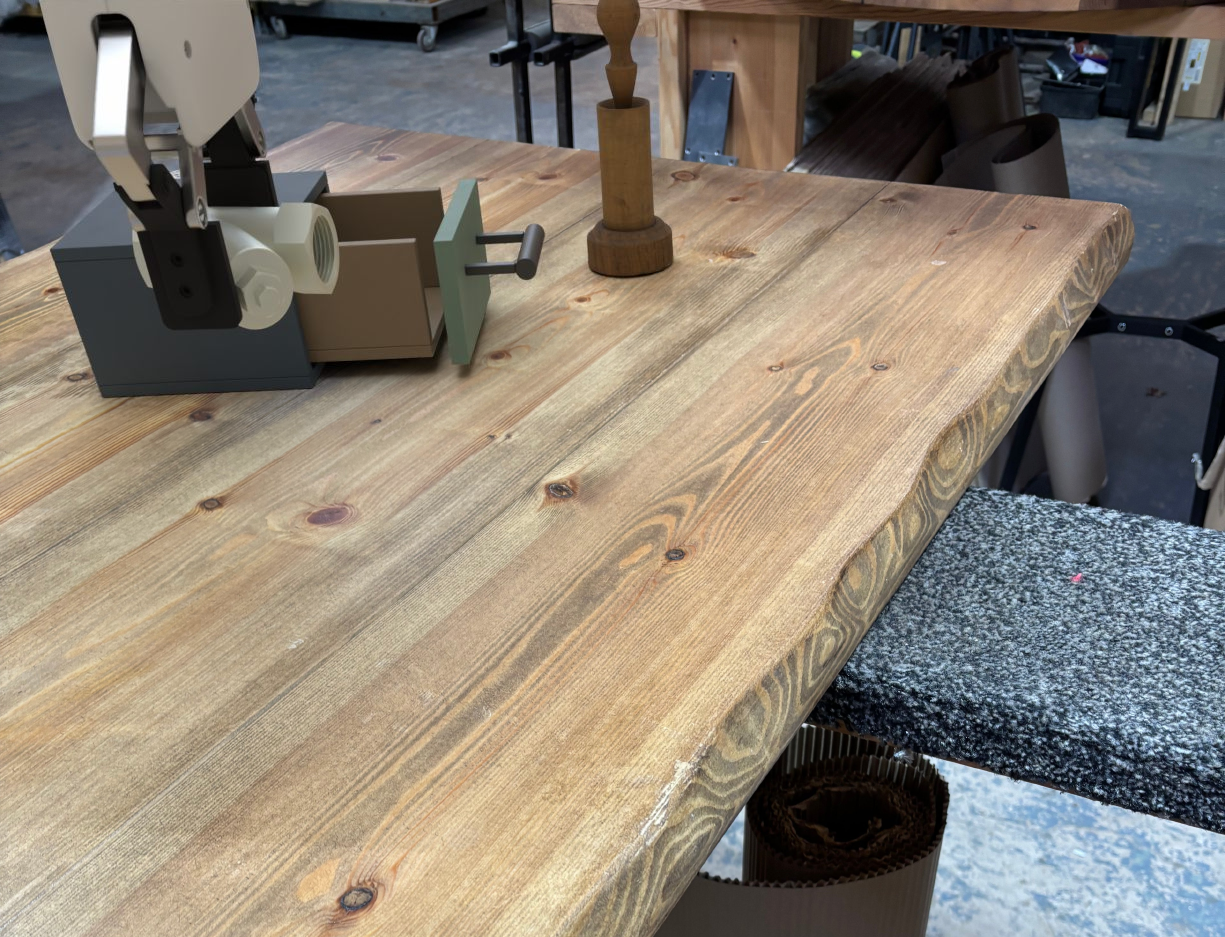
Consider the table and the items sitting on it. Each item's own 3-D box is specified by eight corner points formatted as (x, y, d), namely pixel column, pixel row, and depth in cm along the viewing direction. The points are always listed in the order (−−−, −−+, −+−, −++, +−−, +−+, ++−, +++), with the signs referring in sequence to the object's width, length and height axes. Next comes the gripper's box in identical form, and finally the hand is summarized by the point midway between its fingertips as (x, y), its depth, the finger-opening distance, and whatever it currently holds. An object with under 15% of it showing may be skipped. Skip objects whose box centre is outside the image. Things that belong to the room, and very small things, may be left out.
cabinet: (353, 309, 92) (325, 169, 86) (313, 388, 82) (277, 237, 76) (165, 318, 93) (123, 181, 87) (101, 397, 83) (48, 249, 77)
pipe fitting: (298, 348, 51) (346, 277, 56) (274, 254, 48) (326, 187, 53) (120, 344, 52) (181, 274, 57) (86, 252, 50) (153, 186, 54)
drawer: (554, 289, 90) (544, 174, 85) (540, 361, 81) (527, 236, 76) (312, 301, 92) (286, 188, 86) (269, 373, 82) (238, 251, 77)
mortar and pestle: (654, 243, 99) (644, -24, 87) (686, 267, 94) (681, -11, 82) (577, 258, 98) (556, -12, 85) (606, 283, 93) (588, 2, 81)
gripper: (78, -255, 48) (202, 226, 60) (-137, -224, 35) (75, 378, 47) (267, -266, 47) (354, 221, 60) (118, -239, 35) (266, 373, 47)
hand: (229, 287), depth 53 cm, fingers closed on pipe fitting, 7 cm apart
